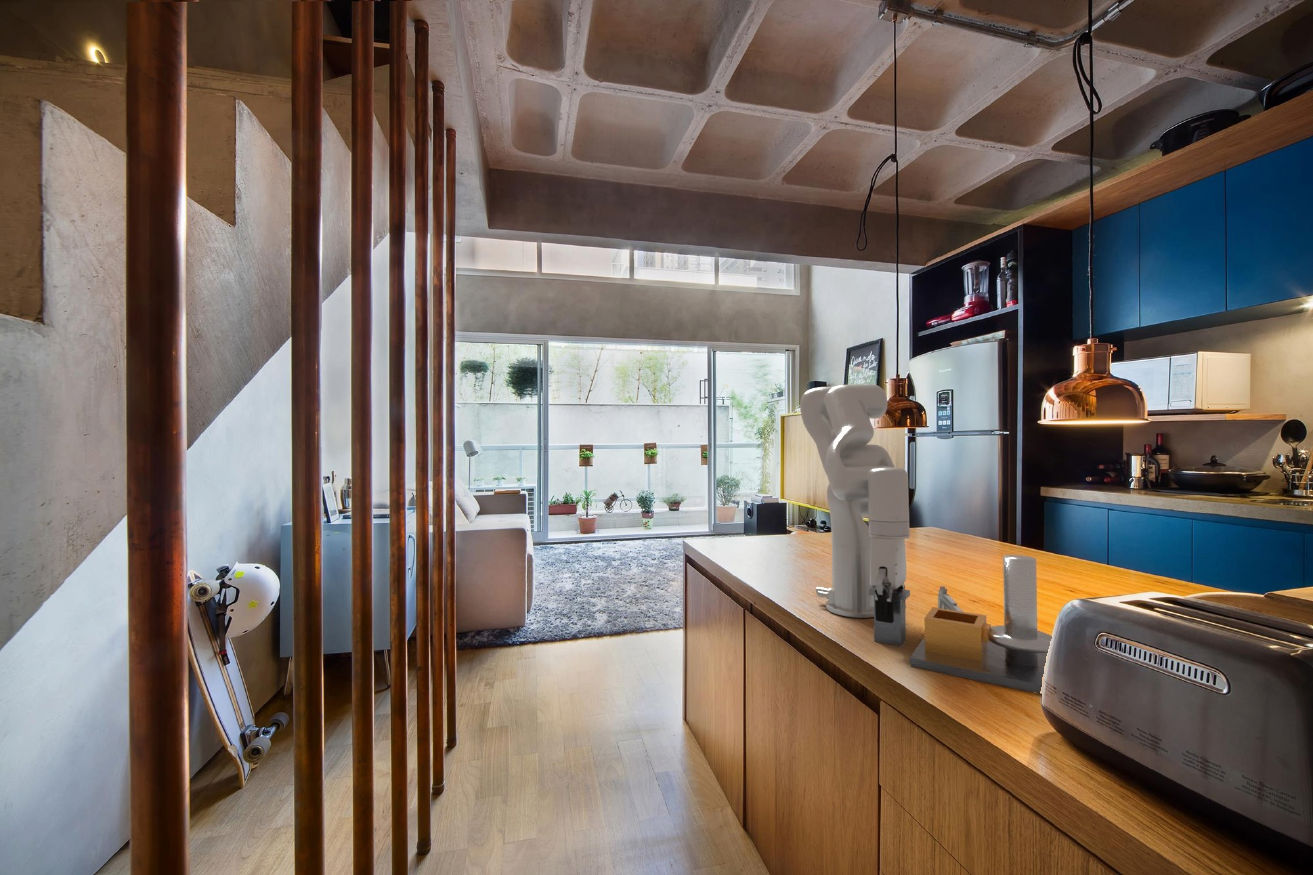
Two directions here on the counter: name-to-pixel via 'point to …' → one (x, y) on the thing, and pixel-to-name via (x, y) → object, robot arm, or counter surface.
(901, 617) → the tall grey pillar block
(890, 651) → the counter surface
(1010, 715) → the counter surface
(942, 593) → the caliper
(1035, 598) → the post
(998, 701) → the counter surface
